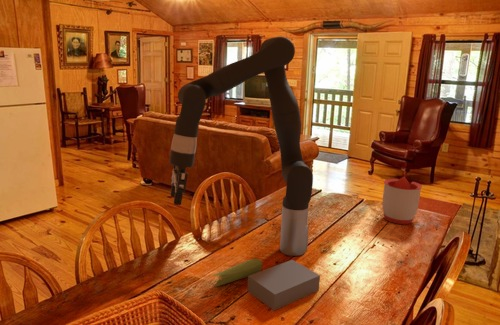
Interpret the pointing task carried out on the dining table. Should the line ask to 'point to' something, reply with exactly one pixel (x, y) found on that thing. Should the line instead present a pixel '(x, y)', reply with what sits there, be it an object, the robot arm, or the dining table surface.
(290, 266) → the plinth
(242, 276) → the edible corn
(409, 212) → the citrus juicer
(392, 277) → the dining table surface
